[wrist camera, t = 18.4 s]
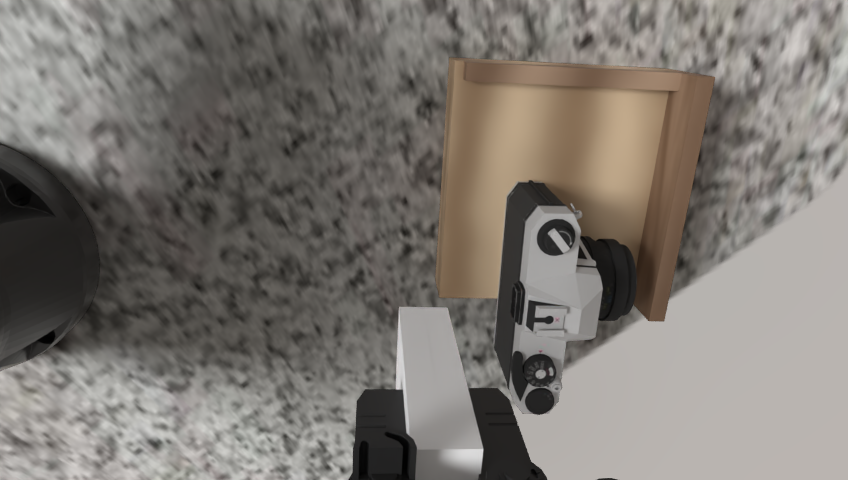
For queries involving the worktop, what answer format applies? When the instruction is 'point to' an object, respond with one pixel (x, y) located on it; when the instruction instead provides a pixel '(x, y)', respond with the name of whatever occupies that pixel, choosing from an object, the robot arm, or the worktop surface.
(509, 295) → the camera
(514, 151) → the wooden corner tray
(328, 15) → the worktop surface
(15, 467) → the worktop surface
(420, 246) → the worktop surface
